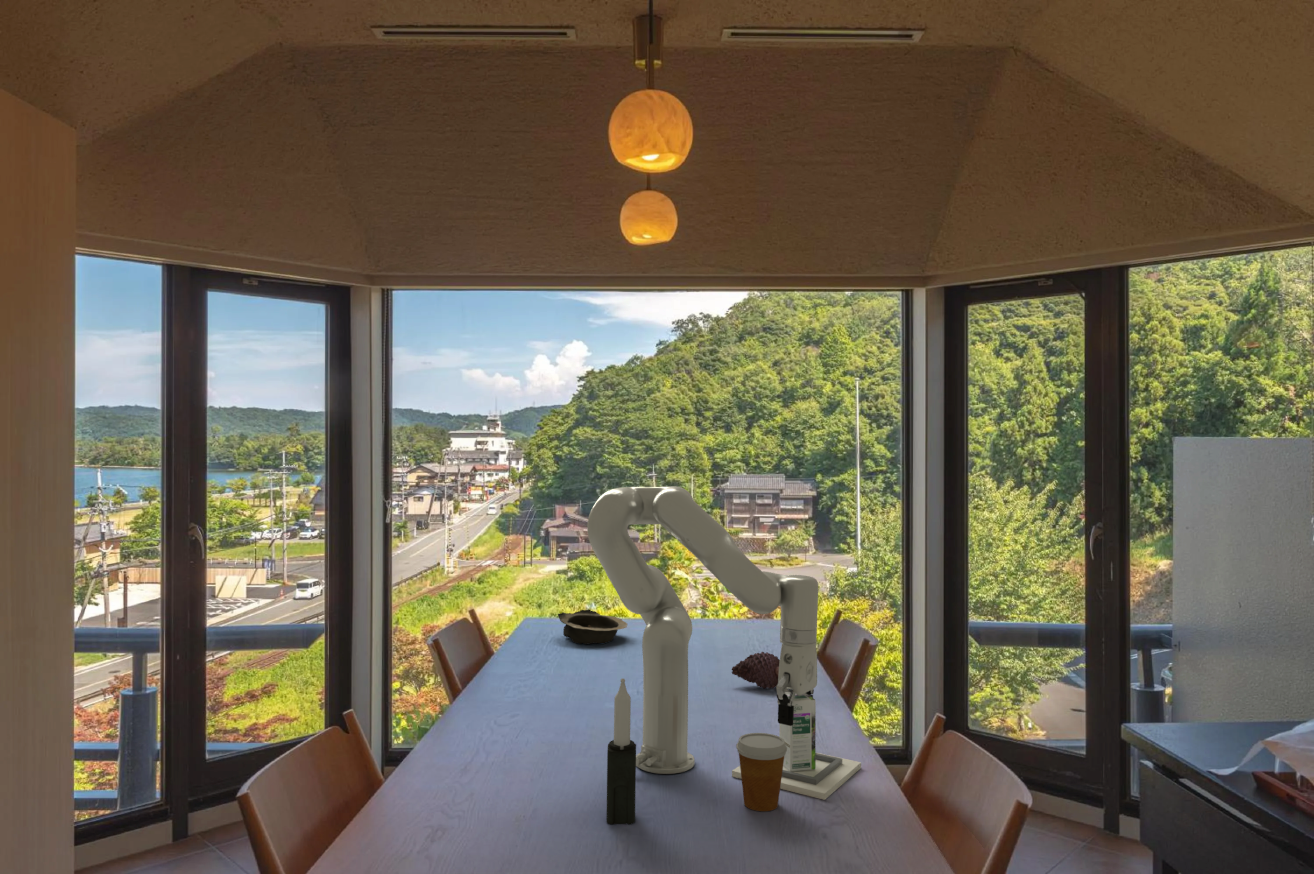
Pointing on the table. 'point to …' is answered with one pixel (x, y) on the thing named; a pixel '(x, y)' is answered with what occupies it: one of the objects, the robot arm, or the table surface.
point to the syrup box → (800, 735)
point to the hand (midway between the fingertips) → (795, 718)
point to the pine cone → (759, 669)
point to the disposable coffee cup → (761, 769)
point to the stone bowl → (590, 626)
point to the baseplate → (817, 776)
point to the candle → (621, 764)
